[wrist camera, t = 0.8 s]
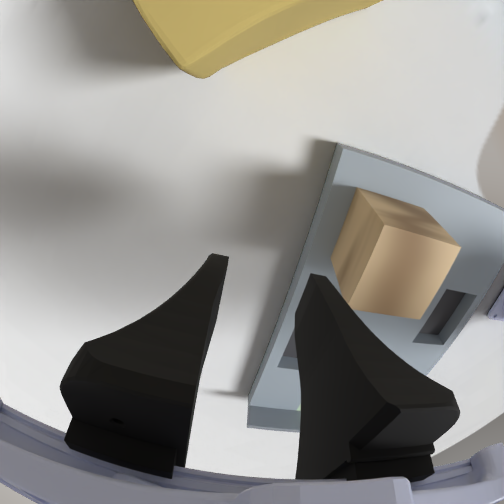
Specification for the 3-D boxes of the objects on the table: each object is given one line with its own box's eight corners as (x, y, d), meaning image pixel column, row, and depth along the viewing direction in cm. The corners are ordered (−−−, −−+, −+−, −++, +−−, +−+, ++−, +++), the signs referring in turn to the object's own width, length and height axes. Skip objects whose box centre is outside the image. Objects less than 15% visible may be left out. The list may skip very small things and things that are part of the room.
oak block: (423, 208, 18) (461, 247, 14) (394, 271, 21) (419, 319, 16) (356, 187, 18) (384, 224, 13) (330, 257, 20) (346, 308, 16)
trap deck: (513, 213, 19) (541, 236, 16) (386, 405, 32) (393, 432, 29) (337, 142, 18) (354, 159, 14) (248, 395, 31) (246, 427, 28)
